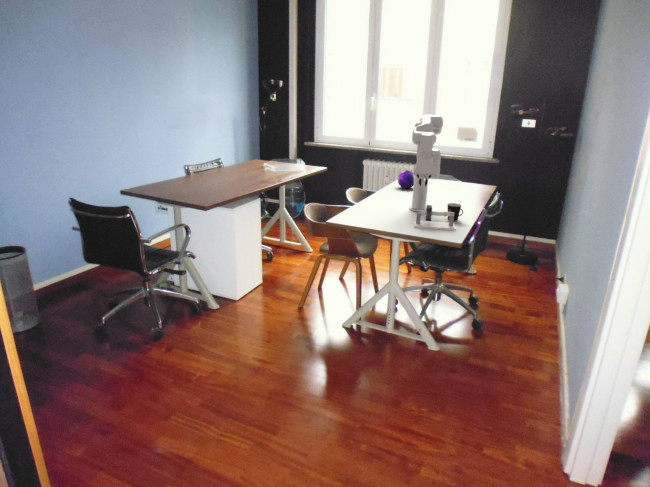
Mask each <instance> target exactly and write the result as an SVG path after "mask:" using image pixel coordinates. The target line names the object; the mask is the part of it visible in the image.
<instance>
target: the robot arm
mask: <svg viewBox="0 0 650 487" xmlns="http://www.w3.org/2000/svg"><path fill="white" fill-rule="evenodd" d="M443 126H444V119H443V117H442V115H439V114H438V115H436V114H435V115H434V114H424V115H423V116H421V117H420V118H419V121H417V122H416V123H415V124H414V129H413V130H412V137H411V140H412V141H411V142H412V143H413V145H416V146H417V147H416V148H417V149H416V163H415V166H414V167H413V171H412V172H413V174H414V186H413V187H412V198H411V206H409V210H410V211H413V212H417V210H421V211H426V207H427V197H428V184H429V180H437V179H439V177H440V174H441V173H440V172H441V161H442V160H441V155H442V154H441V151H440V150H439V149H438V148H434V145H435V143H436V142H437V136H438V135H440V134H442V129H443Z"/></svg>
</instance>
